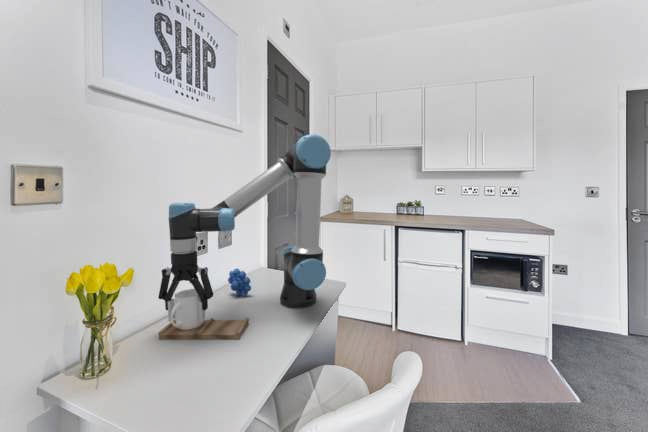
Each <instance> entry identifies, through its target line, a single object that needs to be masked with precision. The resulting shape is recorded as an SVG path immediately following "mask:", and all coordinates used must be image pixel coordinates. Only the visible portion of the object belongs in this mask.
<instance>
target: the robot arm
mask: <svg viewBox="0 0 648 432" xmlns="http://www.w3.org/2000/svg"><path fill="white" fill-rule="evenodd" d="M331 155H332V151H331V147H330V144H329V142H328V141H327V140H326V139H325V138H324V137H323V136H321V135H319V134H315V133H313V134H312V133H311V134H307V135H303V136H302V137H300V138H299V140H298V141H297V142H294V144H293V145H292V146H291V147H290V148H289V149H288V150H287V151H286V152H285V153H283V155H281V156H280V157H278V158H277V163H275V164H274V165H272V166H271V167H269V168H268V169H266V170H265V171H263V172H262V173H261V174H259V175H258V176H256V177H255V178H254V179H252V180H251V181H249V182H247V183H246V184H245V185H243V186H241V188H239V189H238V190H237V191H235V192H234V193H232V194H231V195H229V196H227V197H226V198H225V199H224V200H222V201H221V202H220V203H218V204H217V205H215V206H213V207H211V208H196V204H195V203H193V202H173V203H171V204H169V206H168V227H169V248H170V249H169V250H170V252H171V253H170V264H171V267H168V266H167V267H165V268H163V269H161V276H162V277H161V283H160V287H159V292H158V296H157V297H158V299H159V300H163V301H164V303H165V305H164V306H165V311H167V314H168V315H167V316H168V318H167V319H168V322H171V313H172V310H173V307H174V306H175V298H173V297H174V295H175V292H176V290H177V288H178V286H179V284H180V282H182V281H185V282H188V281H189V284H191V285H192V287H193V289H195V290H196V292H197V294H198V295H199V297H200V299H201V300H200V301H199V317H200V321H203V320H204V319H205V320H206V310H208V308H209V307H208V306H209V303H208V300H210V299H211V298H212V297H214V291H213V288H212V285H211V281H210V279H209V275H208V272H209V269H208V267H200V266H199V264H198V252H197V249H198V248H197V247H198V246H197V245H198V244H197V243H198V241H197V233H205V232H207V233H209V232H224V233H225V232H228V231H229V232H230V231H234V230H235V227H236V226H235V223H236V220H235V219H236V218H237V217H238V216H239V215H240V214H242V213H243V212H245V211H246V210H247V209H249V208H250V207H251V206H253V205H254V204H256V203H257V202H258V201H260V200H261V199H262V198H264V197H265V196H267V195H268V194H269V193H271V192H273V191H274V190H275V189H277V188H278V187H279V186H281V185H282V184H283V183H285V182H287V181H288V180H289V179H291V180H294V179H297V183H296V216H295V245H292V246H286V247H284V248H283V254H282V256H283V285H282V289H281V293H280V296H279V302H280V305H282V306H284V307H287V308H290V309H291V308H292V309H301V308H302V309H303V308H306V307H307V308H308V307H310V306H312V305H315V303H317V293H316V289H318V287H319V288H320V286H321V285H322V284H324V281H325V280H326V277H327V269H326V265H325V264H324V262H323V261H324V260H323V259H324V250H323V249H322V248H321V247H320V231H321V230H320V227H321V205H322V204H321V202H322V199H321V198H322V180H323V179H324V178H325V177H326V176H327V164H328V163H329V161H330V159H331ZM171 274H173V279H172V280H171V284H170V279H171ZM197 274H198V275H199V276H200V280H201V282H200V280H199V276H198V275H197ZM201 283H202V284H201ZM169 284H170V286H169ZM175 318H176V315H175V313H174V315H173V320H174V319H175Z"/></svg>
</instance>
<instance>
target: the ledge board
mask: <svg viewBox="0 0 648 432" xmlns="http://www.w3.org/2000/svg"><path fill="white" fill-rule="evenodd" d="M249 318H250V317H245V319H215V318H214V317H210V318H209V319H205V320H204V323H203V324H202V325H201V326H199V327H197V328H195V329H191V330H181V329H178V328H177V327H174V326H173V325H172V322H171V321H170V323H168V324H167V325H166V326H165V327H164V328H162V329H161V330H160V331H158V340H240V339H241V337H242V336H243V334H244V332H245V331H246V329H247V328H248V327H249V324H250V321H249ZM173 322H174V323H176V318H175V319H173Z"/></svg>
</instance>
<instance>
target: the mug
mask: <svg viewBox="0 0 648 432" xmlns="http://www.w3.org/2000/svg"><path fill="white" fill-rule="evenodd" d="M174 299H175V306H174V307H173V310H172V313H171V321H170V323H171V322H172V325H173V326H174V327H177V328H178V329H181V330H191V329H195V328H197V327H199V326H201V325H202V324H203V323H204V320H206V318H205V319H204V320H203V321H200V317H199V301H200V300H201V299H200V297H199V295H198V294H197V292H196V290H195V288H189V289H187V288H186V289H183V290H180V291H178V292H176V293H174ZM174 313H175V316H176V323H174V322H173V320H174V319H173V315H174Z"/></svg>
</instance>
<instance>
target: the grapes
mask: <svg viewBox="0 0 648 432" xmlns="http://www.w3.org/2000/svg"><path fill="white" fill-rule="evenodd" d="M228 276H229V277H228V278H227V281H228V283H229V284H231V285H230V290H231V291H232V292H235V294H236V295H237V296H242V295H243V297H245V296H247V295H248V294H249V292H250V291H251V290H252V286H251V285H250V284H251V278H249V277H248V276H247V273H246V271H244V270H240V269H239V268H234V269H233V270H230V271H229V274H228Z"/></svg>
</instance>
